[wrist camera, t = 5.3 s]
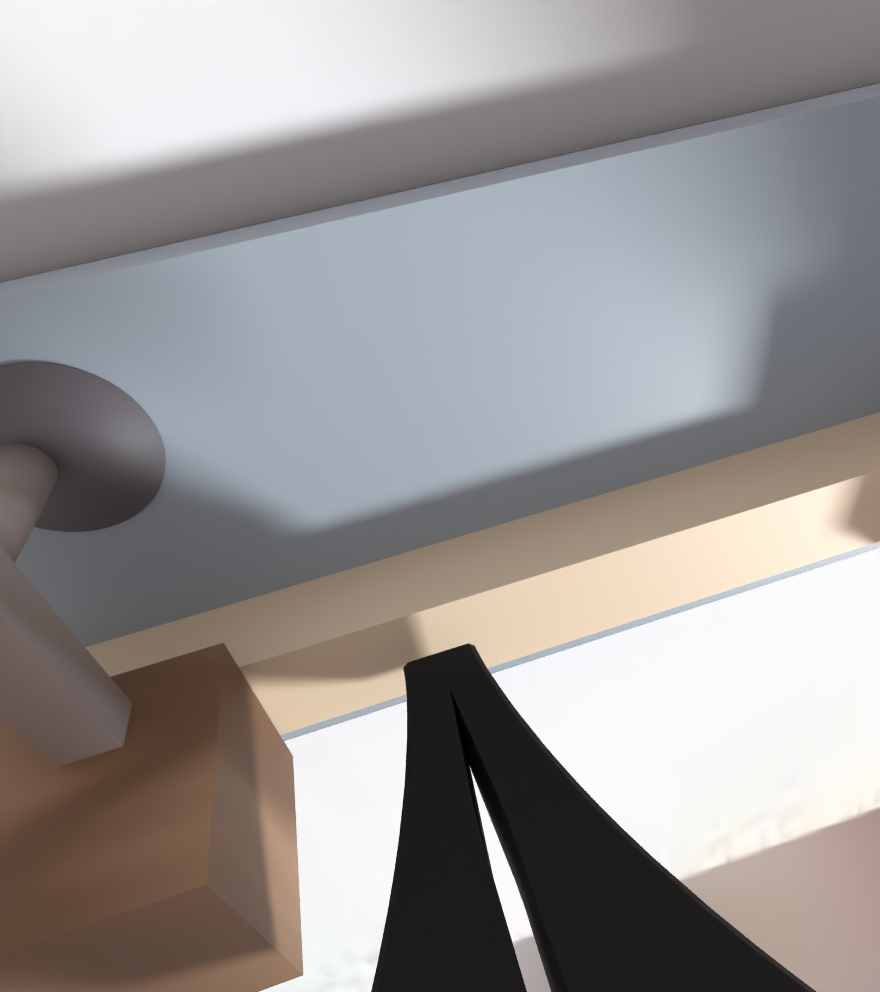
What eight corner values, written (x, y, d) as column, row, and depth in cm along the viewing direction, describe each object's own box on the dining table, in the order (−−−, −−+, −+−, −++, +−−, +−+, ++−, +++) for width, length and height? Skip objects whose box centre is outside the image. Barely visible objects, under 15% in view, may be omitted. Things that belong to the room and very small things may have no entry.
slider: (132, 411, 9) (15, 702, 5) (289, 698, 14) (303, 974, 10) (-131, 479, 9) (-527, 864, 4) (123, 750, 14) (57, 1066, 9)
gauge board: (1102, 32, 11) (1616, -6, 7) (904, 505, 18) (1098, 630, 14) (-211, 330, 9) (-665, 557, 4) (151, 744, 16) (111, 984, 12)
